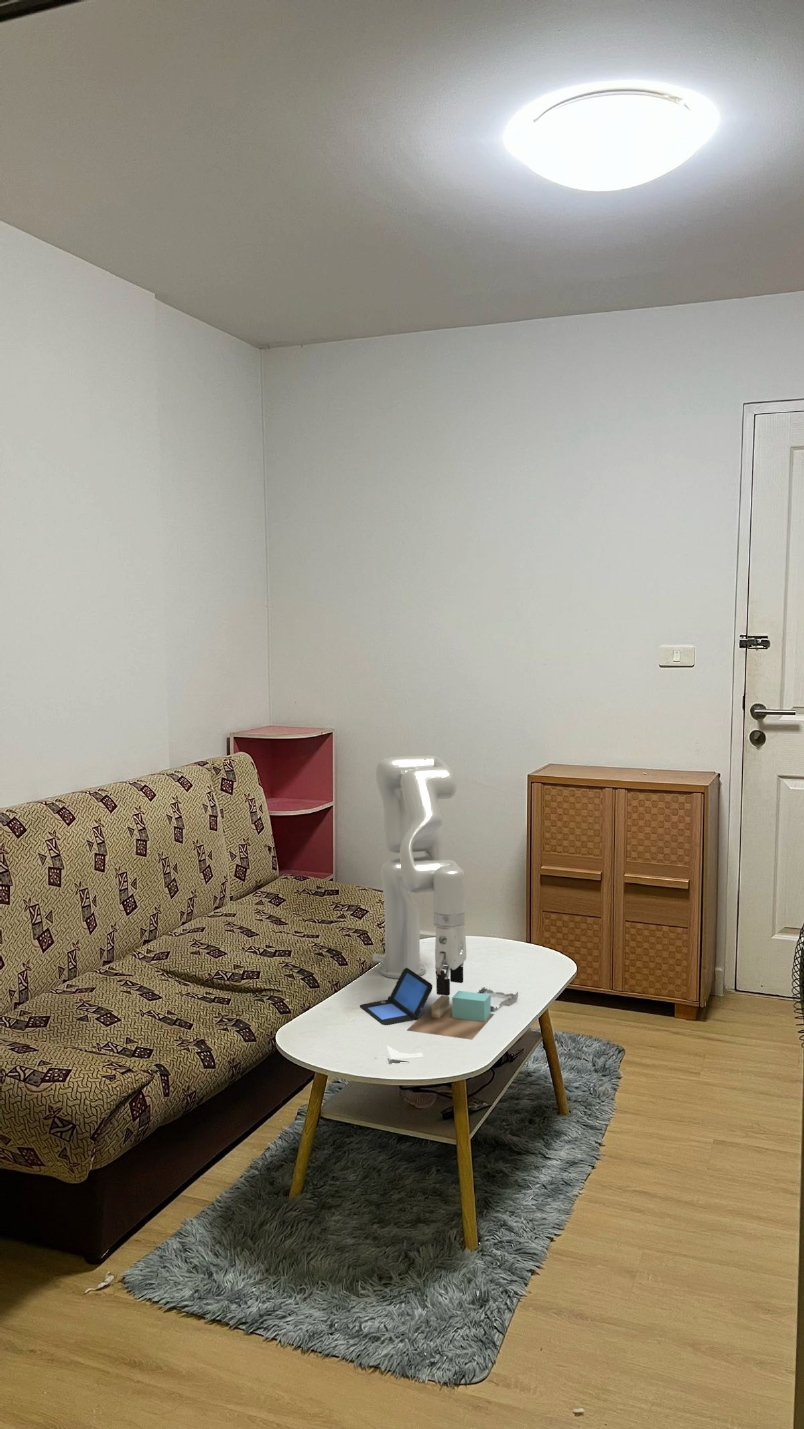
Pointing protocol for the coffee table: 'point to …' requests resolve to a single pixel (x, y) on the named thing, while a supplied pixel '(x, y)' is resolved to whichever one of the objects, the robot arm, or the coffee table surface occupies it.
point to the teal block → (471, 1006)
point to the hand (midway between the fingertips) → (450, 988)
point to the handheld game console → (401, 1000)
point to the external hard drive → (400, 1055)
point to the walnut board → (446, 1022)
